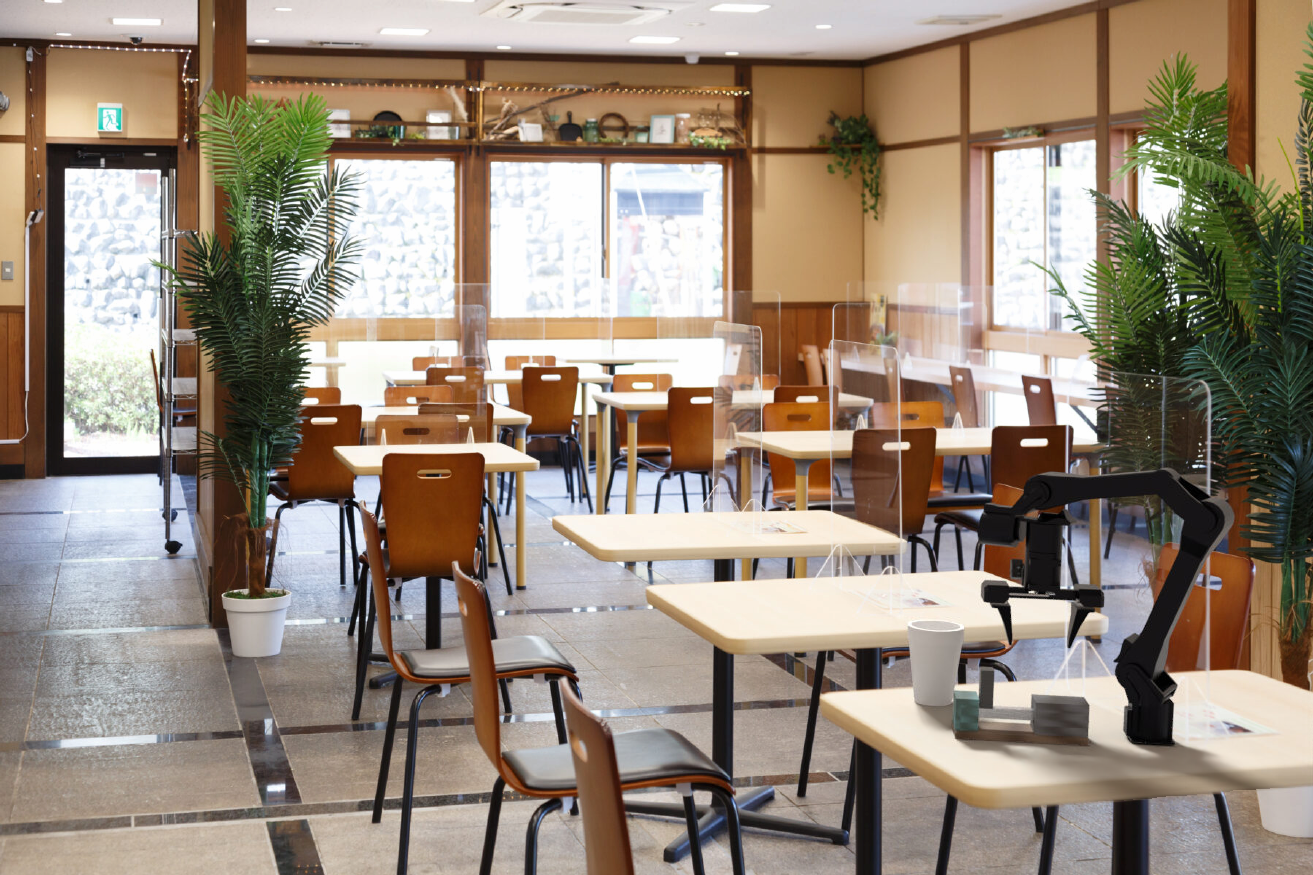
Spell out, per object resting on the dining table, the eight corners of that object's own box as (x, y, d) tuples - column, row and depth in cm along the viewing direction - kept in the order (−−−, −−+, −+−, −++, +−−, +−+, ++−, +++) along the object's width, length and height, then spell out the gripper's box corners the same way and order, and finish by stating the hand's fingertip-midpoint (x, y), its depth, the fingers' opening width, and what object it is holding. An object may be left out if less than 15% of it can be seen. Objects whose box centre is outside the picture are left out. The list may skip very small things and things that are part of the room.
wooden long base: (1081, 732, 225) (1082, 695, 224) (1088, 745, 218) (1090, 707, 217) (951, 725, 227) (953, 688, 227) (955, 738, 220) (956, 700, 220)
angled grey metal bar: (1043, 717, 223) (1046, 669, 222) (1046, 721, 221) (1048, 673, 220) (960, 713, 225) (962, 665, 224) (961, 717, 222) (963, 669, 222)
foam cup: (971, 706, 239) (974, 630, 237) (921, 710, 236) (923, 632, 235) (944, 692, 248) (947, 618, 247) (895, 695, 245) (898, 620, 244)
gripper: (1094, 545, 236) (1090, 638, 238) (979, 540, 239) (975, 632, 240) (1107, 556, 225) (1102, 653, 227) (986, 551, 228) (982, 647, 229)
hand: (1039, 646), depth 231 cm, fingers open, 9 cm apart
